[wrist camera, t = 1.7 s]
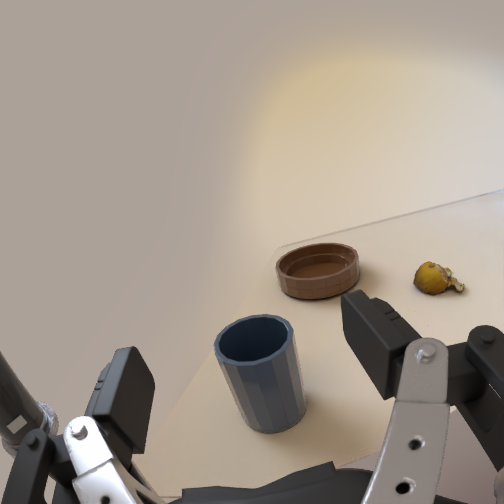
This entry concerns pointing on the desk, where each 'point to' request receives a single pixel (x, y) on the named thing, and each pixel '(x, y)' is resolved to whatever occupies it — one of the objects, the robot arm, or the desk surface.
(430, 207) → the desk surface
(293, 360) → the cup
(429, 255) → the desk surface
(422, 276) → the fruit
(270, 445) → the desk surface
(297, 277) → the bowl
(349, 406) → the desk surface
